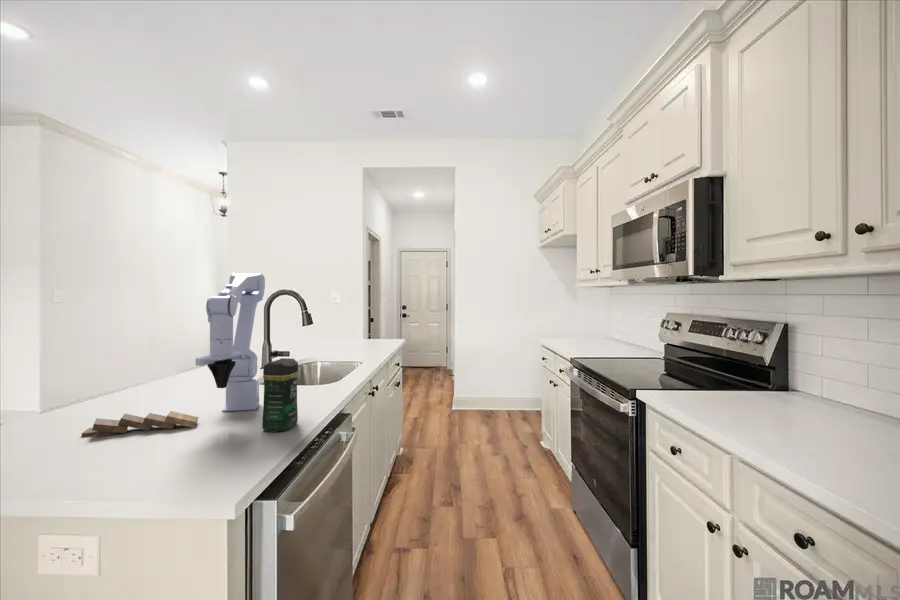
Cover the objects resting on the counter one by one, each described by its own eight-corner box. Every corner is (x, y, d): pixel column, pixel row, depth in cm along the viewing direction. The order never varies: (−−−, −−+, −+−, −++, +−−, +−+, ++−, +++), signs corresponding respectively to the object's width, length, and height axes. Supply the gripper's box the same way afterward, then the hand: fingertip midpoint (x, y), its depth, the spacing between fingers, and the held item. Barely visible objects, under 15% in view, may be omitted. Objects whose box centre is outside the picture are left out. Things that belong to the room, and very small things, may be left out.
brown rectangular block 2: (154, 420, 115) (125, 413, 112) (151, 424, 111) (120, 418, 108) (152, 425, 115) (122, 419, 112) (149, 430, 111) (118, 424, 108)
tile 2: (178, 418, 117) (150, 412, 114) (174, 423, 113) (144, 417, 110) (176, 424, 117) (147, 418, 114) (172, 429, 112) (142, 423, 110)
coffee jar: (287, 433, 111) (287, 362, 110) (257, 432, 111) (258, 361, 111) (302, 422, 120) (302, 356, 120) (274, 421, 121) (275, 356, 120)
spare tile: (198, 417, 118) (171, 411, 116) (195, 422, 114) (166, 415, 112) (196, 422, 118) (168, 416, 116) (193, 427, 114) (164, 421, 112)
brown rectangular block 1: (129, 421, 113) (96, 418, 109) (128, 426, 109) (93, 424, 105) (127, 427, 112) (94, 424, 109) (126, 432, 109) (91, 430, 105)
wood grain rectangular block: (122, 425, 113) (89, 427, 110) (115, 430, 109) (81, 433, 106) (122, 431, 113) (89, 433, 110) (115, 436, 109) (81, 439, 106)
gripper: (232, 335, 126) (232, 381, 126) (187, 340, 112) (187, 391, 113) (250, 336, 124) (250, 383, 124) (206, 342, 110) (206, 394, 110)
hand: (221, 387), depth 118 cm, fingers closed
